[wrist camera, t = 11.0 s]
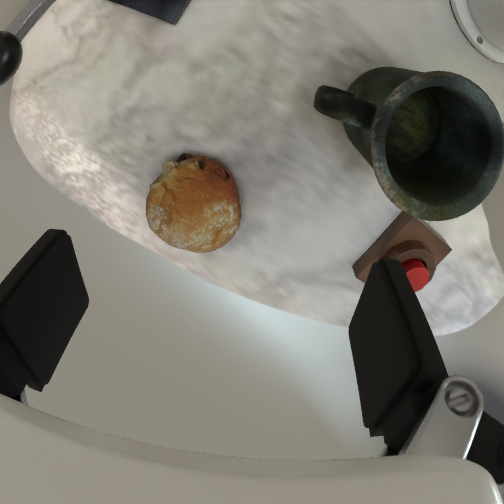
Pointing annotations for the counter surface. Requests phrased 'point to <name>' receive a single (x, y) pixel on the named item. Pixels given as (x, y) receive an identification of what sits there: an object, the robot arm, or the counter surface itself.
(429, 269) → the control block
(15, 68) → the lever handle
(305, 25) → the counter surface
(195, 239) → the bread roll
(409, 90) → the mug
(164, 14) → the lever base
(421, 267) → the button
